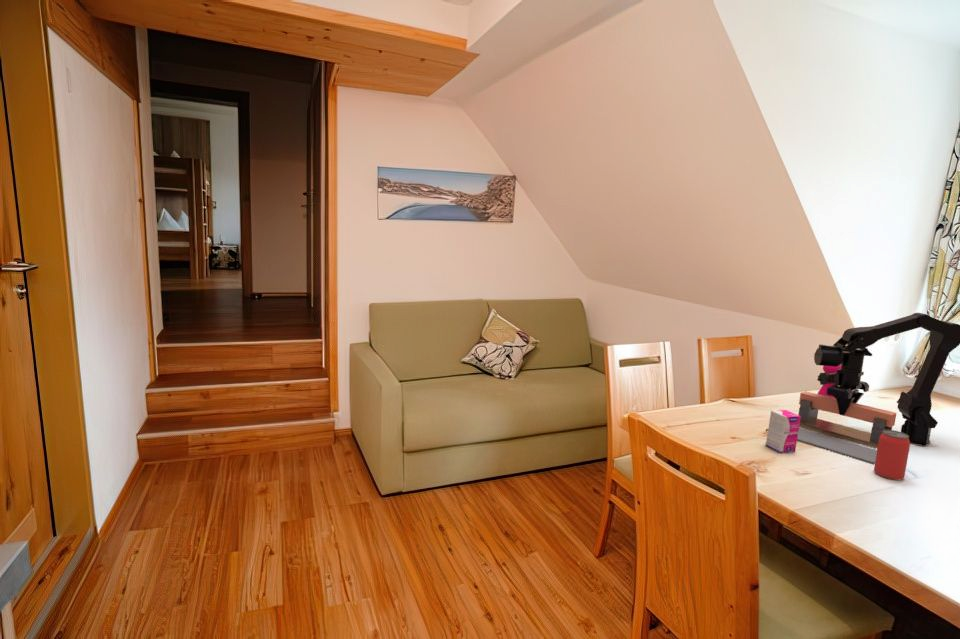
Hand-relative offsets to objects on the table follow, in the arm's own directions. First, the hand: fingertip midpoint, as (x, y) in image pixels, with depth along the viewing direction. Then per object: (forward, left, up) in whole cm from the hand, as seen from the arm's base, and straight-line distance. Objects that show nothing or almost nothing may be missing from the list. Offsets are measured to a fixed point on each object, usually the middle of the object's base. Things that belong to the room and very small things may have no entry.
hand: (844, 414), depth 173 cm
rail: (0, 0, 0) cm, 0 cm away
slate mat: (0, +14, -7) cm, 16 cm away
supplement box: (+5, +32, -7) cm, 33 cm away
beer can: (-20, +25, -7) cm, 33 cm away
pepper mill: (+14, -26, -7) cm, 30 cm away
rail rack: (0, 0, -7) cm, 7 cm away
